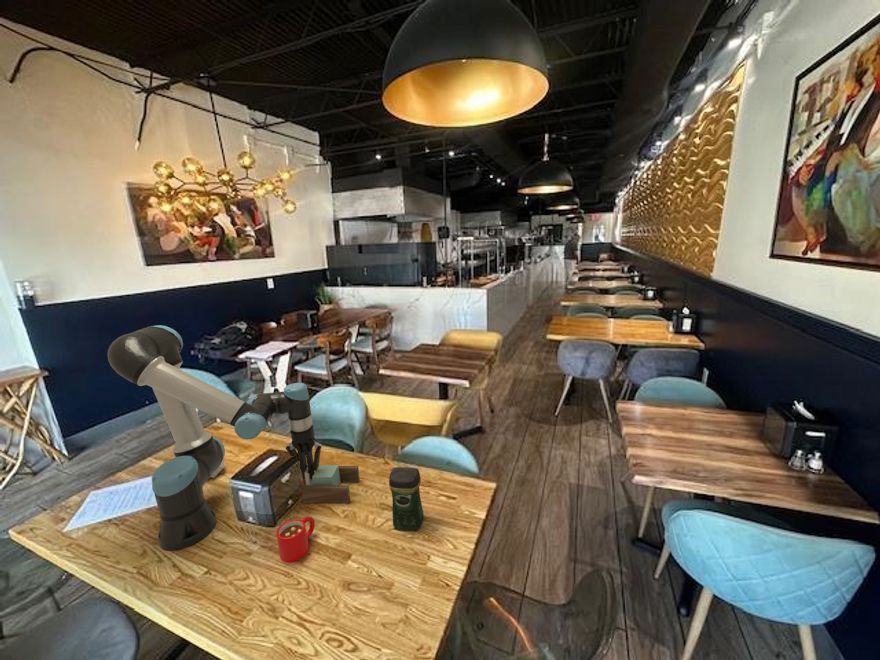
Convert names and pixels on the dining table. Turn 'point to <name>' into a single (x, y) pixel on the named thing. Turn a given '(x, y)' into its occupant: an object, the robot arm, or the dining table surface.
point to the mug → (294, 538)
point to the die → (218, 470)
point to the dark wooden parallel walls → (332, 488)
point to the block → (327, 475)
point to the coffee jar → (406, 498)
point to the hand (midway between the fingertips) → (310, 486)
